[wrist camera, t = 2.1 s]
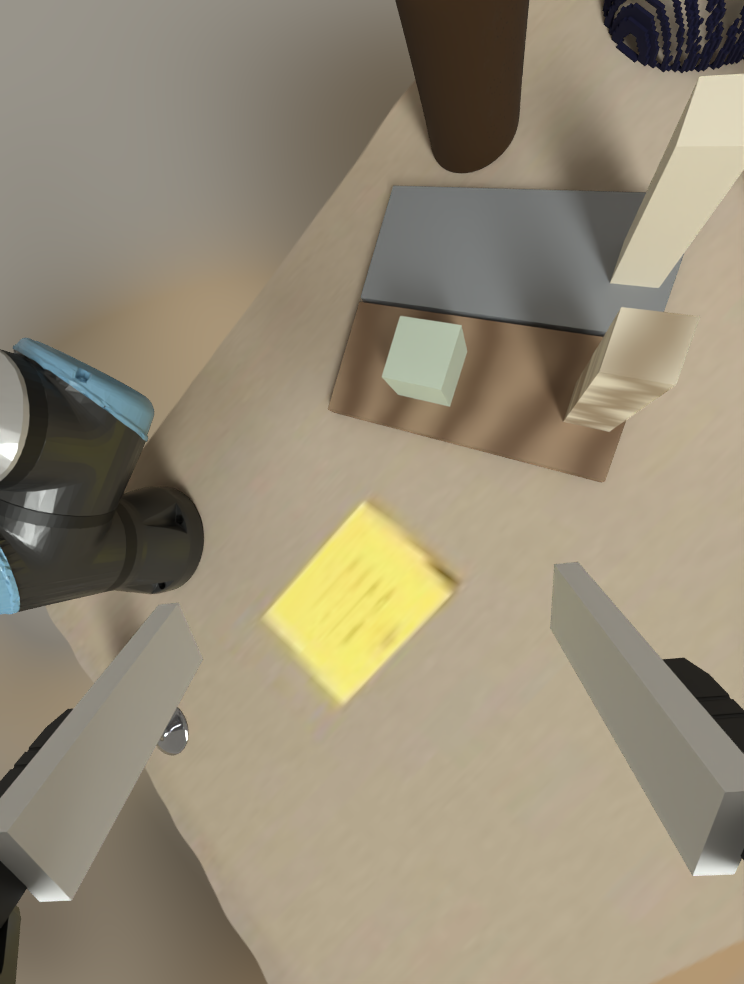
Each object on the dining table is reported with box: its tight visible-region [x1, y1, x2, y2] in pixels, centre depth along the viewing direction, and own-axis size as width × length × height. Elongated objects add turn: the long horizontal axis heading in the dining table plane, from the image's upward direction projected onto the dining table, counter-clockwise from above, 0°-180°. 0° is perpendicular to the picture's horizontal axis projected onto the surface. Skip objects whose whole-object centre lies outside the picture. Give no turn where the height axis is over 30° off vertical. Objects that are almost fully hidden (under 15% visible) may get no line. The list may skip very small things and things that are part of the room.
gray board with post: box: [361, 74, 744, 337], centre depth 32 cm, size 30×13×16 cm, turn 72°
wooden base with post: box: [328, 302, 700, 482], centre depth 33 cm, size 30×13×16 cm, turn 72°
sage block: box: [382, 316, 467, 407], centre depth 37 cm, size 6×6×6 cm
